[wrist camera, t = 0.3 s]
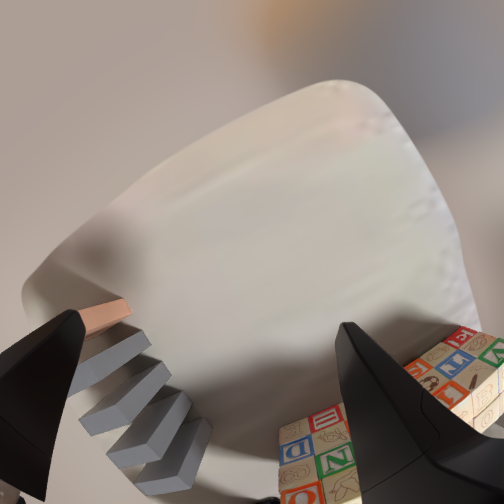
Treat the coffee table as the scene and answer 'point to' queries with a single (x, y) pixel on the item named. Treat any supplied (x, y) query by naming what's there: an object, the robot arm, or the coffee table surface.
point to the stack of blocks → (337, 430)
